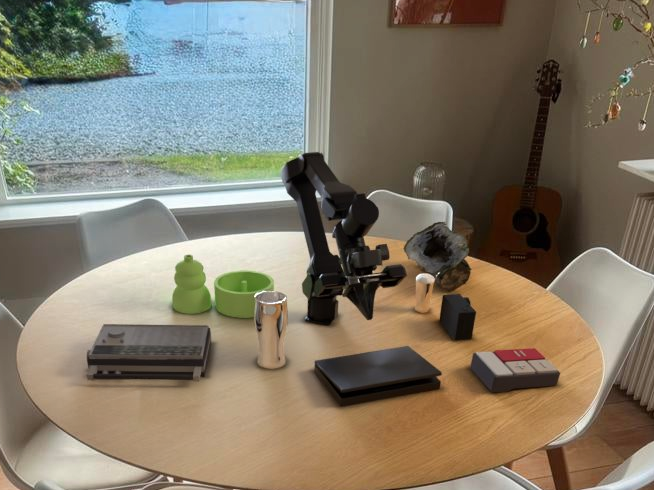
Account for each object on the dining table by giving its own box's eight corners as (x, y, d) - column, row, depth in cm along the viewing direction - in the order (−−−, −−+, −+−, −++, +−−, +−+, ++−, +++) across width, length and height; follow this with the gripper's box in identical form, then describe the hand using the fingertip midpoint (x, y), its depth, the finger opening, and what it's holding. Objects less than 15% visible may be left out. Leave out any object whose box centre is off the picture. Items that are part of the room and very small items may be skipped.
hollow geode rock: (453, 316, 189) (499, 276, 183) (422, 285, 182) (470, 242, 177) (426, 272, 211) (467, 235, 205) (398, 243, 204) (440, 204, 199)
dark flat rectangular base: (439, 389, 149) (441, 380, 148) (341, 406, 143) (341, 398, 142) (407, 356, 161) (407, 348, 160) (314, 371, 154) (314, 363, 153)
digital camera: (476, 339, 168) (481, 311, 164) (454, 340, 167) (459, 312, 163) (460, 320, 176) (464, 292, 172) (439, 321, 175) (442, 294, 171)
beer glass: (263, 372, 154) (262, 306, 145) (250, 358, 159) (248, 293, 150) (292, 365, 156) (293, 300, 147) (278, 352, 161) (278, 288, 152)
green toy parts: (273, 293, 187) (273, 245, 180) (274, 317, 176) (274, 267, 168) (175, 293, 186) (171, 245, 178) (170, 318, 174) (165, 267, 167)
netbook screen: (441, 376, 148) (442, 372, 147) (341, 393, 141) (341, 389, 141) (407, 348, 160) (408, 345, 159) (314, 364, 153) (314, 360, 153)
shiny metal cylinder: (433, 315, 178) (438, 276, 172) (411, 312, 179) (416, 274, 173) (434, 307, 182) (439, 269, 176) (413, 305, 183) (417, 267, 177)
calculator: (562, 370, 149) (496, 374, 146) (556, 388, 152) (491, 392, 148) (536, 345, 158) (473, 349, 154) (531, 363, 160) (469, 367, 157)
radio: (210, 320, 161) (200, 364, 145) (211, 342, 164) (202, 387, 148) (99, 319, 161) (78, 362, 145) (103, 341, 164) (82, 385, 148)
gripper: (321, 234, 140) (339, 311, 139) (407, 225, 146) (426, 298, 144) (306, 259, 151) (323, 330, 149) (387, 250, 156) (405, 318, 154)
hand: (370, 319), depth 149 cm, fingers closed
